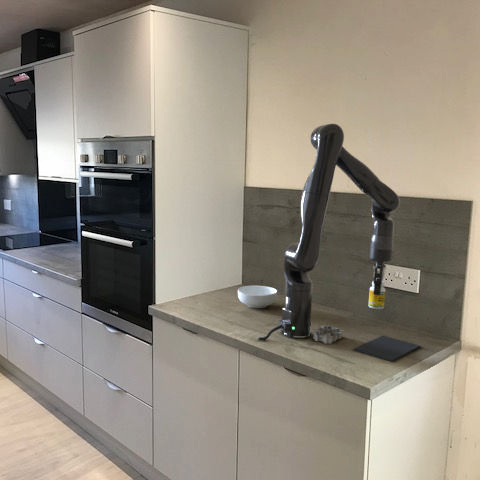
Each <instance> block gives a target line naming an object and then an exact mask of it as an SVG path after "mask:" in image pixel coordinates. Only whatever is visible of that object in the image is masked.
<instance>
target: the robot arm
mask: <svg viewBox="0 0 480 480" xmlns="http://www.w3.org/2000/svg"><path fill="white" fill-rule="evenodd" d="M344 142H345V132H344V130H343V128H342V127H341V125H339V124H337V123H327V124H321V125H319V126H316V127H315V128H313V130H312V131H311V133H310V143H311V146H312V147H313V148H314V149H315V150H316V155H315V160H314V164H313V167H312V168H311V170H310V173H309V174H308V177H307V179H306V181H305V182H304V185H303V188H302V192H301V197H300V202H299V213H300V220H301V235H300V239H299V242H293V243H291V244H289V245H287V248H286V249H285V251H284V257H283V278H284V282H285V295H284V307H282V308H281V319H279V320H278V323H277V326H276V327H274V328H272V329H271V330H269V331H268V333H267V334H266V336H263V337H258V338H257V340H258V341H265V340H266V341H267V340H268V339H269V338H270V336H271V335H272V334H273V333H274V332H275V331H277V330H280V333H281V334H283V335H284V336H286V337H288V338H289V339H306V338H309V337H310V336H311V327H312V322H311V320H312V302H313V281H312V279H311V278H310V277H311V276H310V275H309V272H311V271H313V270H314V269H315V268H316V266H317V264H318V261H319V257H320V250H321V241H322V233H323V228H324V223H325V217H326V213H327V209H328V205H329V200H330V196H331V192H332V191H331V190H332V185H333V181H334V176H335V171H336V167H337V168H339V169H340V171H342V172H343V173H344V174H345V176H347V177H348V178H349V179H350V180H351V181H352V183H353V184H354V185H355V186H356V187H357V188H358V189H359V190H360V192H362V193H363V194H364V195H366V196H369V197H370V198H371V204H370V205H371V207H370V208H371V215H372V216H371V217H372V231H371V232H372V233H371V238H370V245H369V256H368V257H369V260H371V261H375V262H376V263H374V264H373V276H372V277H373V281H374V295H380V292H381V284H382V282H383V281H384V279H385V274H386V273H385V272H386V269H387V264H385V263H388V262H391V261H392V259H393V250H394V233H395V232H394V231H395V221H394V220H393V218H392V217H391V213H392V212H395V211H397V210H398V209H399V208H400V205H401V199H400V197H399V195H398V194H397V193H396V192H395V190H393V188H391V187H390V186H388V185H387V184H386V183H385V182H383V181H382V180H381V179H380V178H379V177H378V176H377V175H376V174H375V173H374V171H372V170H371V168H369V166H367V165H366V164H365V163H364V162H363V161H361V160H360V159H358V158H357V157H356V156H354V155H352V154H351V153H350V152H349V151H348V150H347V149H346V148H345V147H344V146H343V145H344Z"/></svg>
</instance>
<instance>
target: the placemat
mask: <svg viewBox="0 0 480 480" xmlns="http://www.w3.org/2000/svg"><path fill="white" fill-rule="evenodd" d="M420 348H421V345H419V344H415V343H413V342H408V341H405V340H401V339H397V338H393V337H389V336H386V335H381V336H379V337H377V338H374V339H372V340H370V341H368V342H366V343H363V344H361V345H359V346H356V347H355V348H354V349H353V350H354V351H356V352H359V353H361V354H366V355H369V356H372V357H376V358H379V359H382V360H385V361H389V362H392V363H393V362H394V361H397V360H399V359H401V358H402V357H405V356H406V355H408V354H410V353H412V352H414V351H417V350H418V349H420Z"/></svg>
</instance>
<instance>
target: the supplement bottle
mask: <svg viewBox="0 0 480 480" xmlns="http://www.w3.org/2000/svg"><path fill="white" fill-rule="evenodd" d="M371 285H372V286H370V287H369V292H368V293H369V295H368V307H369V308H370V309H374V310H383V309H385V301H386V291H387V290H386V288H385V282H384V281H382V284H381V292H380V295H374V280H372V282H371Z"/></svg>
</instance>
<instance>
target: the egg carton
mask: <svg viewBox="0 0 480 480" xmlns="http://www.w3.org/2000/svg"><path fill="white" fill-rule="evenodd" d="M343 332H344V330H343V329H341V330H340V329H339V327H335V326H333V325H329V324H327V323H325V324H324V325H323V326H319V327H317V328H315V329H314V328H313V329H312V332H311V333H312V334H313V338H312V339H313V340H314V341H315V342H322V343H323V344H329V345H330V344H333V342H337V340H341V339H342V334H343Z"/></svg>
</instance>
